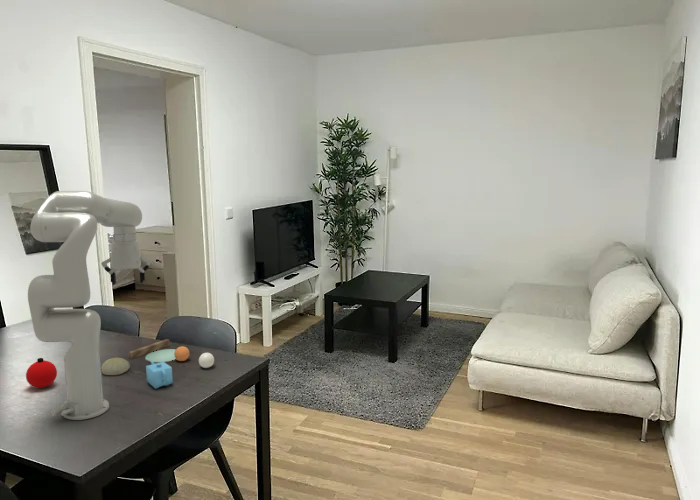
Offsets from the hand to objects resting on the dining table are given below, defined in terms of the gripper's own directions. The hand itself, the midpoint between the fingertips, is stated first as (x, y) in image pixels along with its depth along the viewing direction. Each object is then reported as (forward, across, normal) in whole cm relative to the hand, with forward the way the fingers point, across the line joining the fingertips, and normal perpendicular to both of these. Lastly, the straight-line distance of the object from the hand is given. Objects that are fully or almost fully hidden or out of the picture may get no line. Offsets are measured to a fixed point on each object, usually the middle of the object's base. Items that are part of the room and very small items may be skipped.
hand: (128, 283), depth 198 cm
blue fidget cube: (+30, +12, -27) cm, 42 cm away
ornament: (+30, -26, -20) cm, 44 cm away
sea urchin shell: (+30, -4, -12) cm, 33 cm away
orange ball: (+27, +18, -6) cm, 33 cm away
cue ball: (+27, +27, -16) cm, 42 cm away
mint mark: (+30, +11, +1) cm, 32 cm away
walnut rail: (+30, +5, +7) cm, 31 cm away
